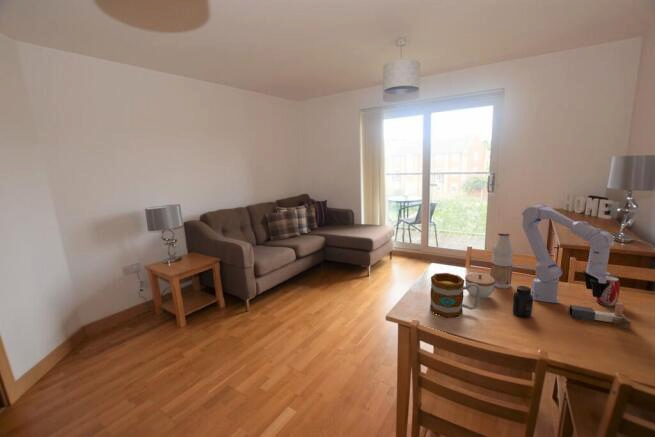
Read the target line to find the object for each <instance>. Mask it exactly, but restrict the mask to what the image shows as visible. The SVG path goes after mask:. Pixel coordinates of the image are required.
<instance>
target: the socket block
mask: <svg viewBox="0 0 655 437" xmlns="http://www.w3.org/2000/svg"><path fill="white" fill-rule="evenodd" d="M607 313H614V311H613V312H611V311H608V312H607ZM622 316H623V318H624V319H619V318H613V322H610V323H611V325H612V326H613V327H616V328H622V329H630V328H631V324H632V323H631V320H630V319H629V318H628V316H626V315H625V314H622Z"/></svg>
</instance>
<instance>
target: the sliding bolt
mask: <svg viewBox="0 0 655 437" xmlns="http://www.w3.org/2000/svg"><path fill="white" fill-rule="evenodd" d="M624 309H625V304H624V303H623V302H616V305H614V311H613V313H608V312H607V311H599V310H594V311H595V319H594V321H596V320H597V321H600V322H601V321H602V322H609V323H611V322H613V318H619V319H624V318H623V316H622V314H623V313H624Z"/></svg>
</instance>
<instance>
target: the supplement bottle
mask: <svg viewBox="0 0 655 437" xmlns="http://www.w3.org/2000/svg"><path fill="white" fill-rule="evenodd" d="M531 290H532V288H531V287H529V286H525V285H517V286H516V292H514V293H513V300H512V314H513V315H514V316H516V317H518V318H522V319H530V318H532V316H533V306H534V304H533V303H534V299H533V296H532V294H531Z"/></svg>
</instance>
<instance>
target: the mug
mask: <svg viewBox="0 0 655 437" xmlns="http://www.w3.org/2000/svg"><path fill="white" fill-rule="evenodd" d="M430 281H431V282H430V286H431V287H430V305H429V309H430V308H431V309H430V311H431V310H432V311H433V312H434V313H433V312H432V311H431V312H432V313H433V315H435V314H437V315H436V316H438V315H440V316H439V317H441V316H442V317H441V318H444V319H457V318H460V316H462V314H463V312H464V311H463V308H464V309H469V310H476V308H477V307H478V306H479V300H480V299H479V294H480V288H479V285H477V284H475V283H470V284H468V285H467V286H466V285H465V278H464V279H463V278H462V277H461V276H460V275H458V274H453V273H450V272H442V273H441V272H440V273H439V272H438V273H437V272H436V273H434V274H433V275H431V276H430ZM471 286H475V287H477V294H476V298H475V302H474V305H469V304H465V303H464V302H463V301H464V290H466V291H467V289H468V288H470V287H471Z"/></svg>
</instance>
